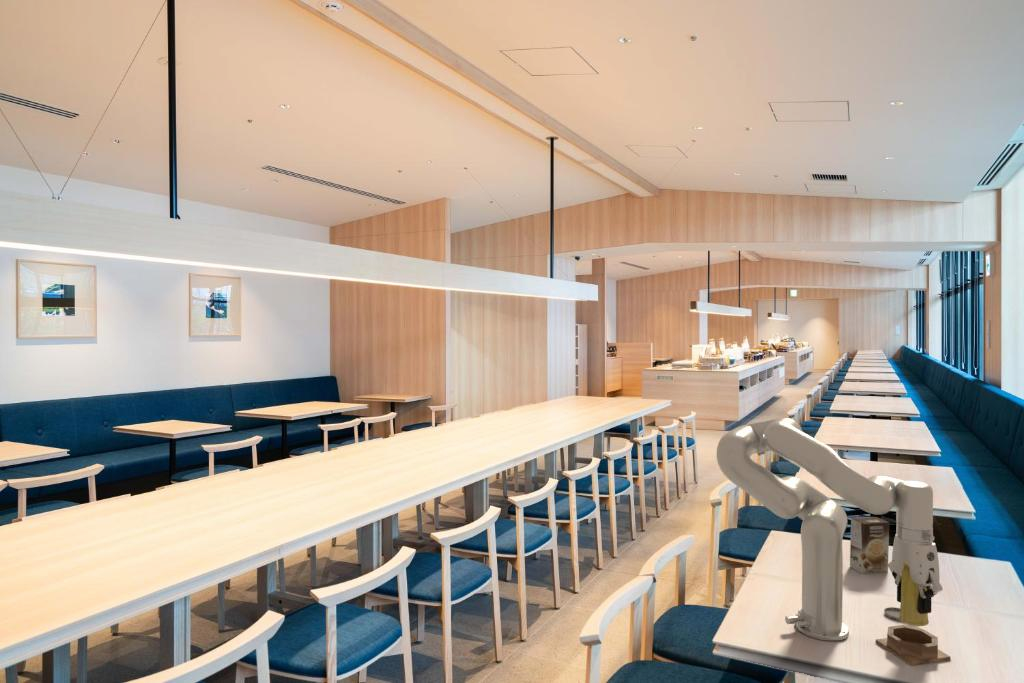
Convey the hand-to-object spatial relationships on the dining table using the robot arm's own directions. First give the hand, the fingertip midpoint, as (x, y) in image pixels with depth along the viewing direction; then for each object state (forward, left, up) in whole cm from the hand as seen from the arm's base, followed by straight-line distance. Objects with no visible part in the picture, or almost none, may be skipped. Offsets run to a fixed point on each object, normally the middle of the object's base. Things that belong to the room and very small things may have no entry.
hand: (913, 606), depth 159 cm
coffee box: (+27, +46, -11) cm, 54 cm away
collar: (0, 0, -11) cm, 11 cm away
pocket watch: (+12, +16, -11) cm, 23 cm away
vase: (0, 0, -4) cm, 4 cm away
